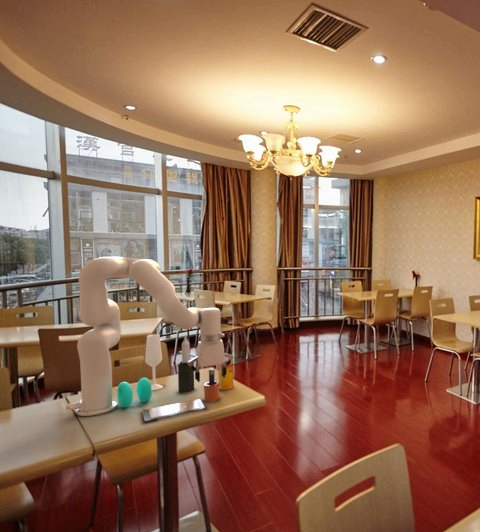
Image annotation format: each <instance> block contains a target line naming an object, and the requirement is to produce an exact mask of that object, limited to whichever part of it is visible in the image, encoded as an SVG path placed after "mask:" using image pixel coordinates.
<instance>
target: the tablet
mask: <svg viewBox="0 0 480 532" xmlns="http://www.w3.org/2000/svg"><path fill="white" fill-rule="evenodd" d="M203 410H206V406H205V405H204V403H203V401H202V399H201V398H196V399H193V400H192V399H191V400H187V401H183V402H177V403H172V404H167V405H163V406H156V407H151V408H147V409H142V416H143V417H142V418H143V421H144V424H147V423H153V422H157V421H158V420H160V419H166V418H171V417H175V416H179V415H184V414H188V413H195V412H199V411H203Z"/></svg>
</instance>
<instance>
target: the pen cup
mask: <svg viewBox="0 0 480 532" xmlns="http://www.w3.org/2000/svg"><path fill="white" fill-rule="evenodd" d="M214 382H215V384H214V385H209V381H207V382H205V383H204V384H203V400H204V402H214V401H217V400H219V398H220V389H219V382H218V380H217V381H216V380H214Z"/></svg>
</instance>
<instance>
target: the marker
mask: <svg viewBox="0 0 480 532" xmlns="http://www.w3.org/2000/svg"><path fill="white" fill-rule="evenodd" d="M214 381H215V368H209V369H208V382H209V385H214V384H215V382H214Z"/></svg>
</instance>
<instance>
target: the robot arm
mask: <svg viewBox="0 0 480 532" xmlns="http://www.w3.org/2000/svg"><path fill="white" fill-rule="evenodd" d="M161 269H162V268H161V266H160V265H159V263H158V262H156V261H155V260H153V259H147V258H135V257H126V256H125V257H124V256H102V257H98V258H94V259H92V260H89V261H88V262H87V263H85V264H84V265H83V266H82V267H81V269H80V270H79V274H78V289H79V316H80V320H81V322H82V324H84V325H85V326H88V327H93V329H89V330H88V331H86V332H85V333H83V334H82V335H80V337H79V339H78V340H77V345H76V347H77V353H78V358H79V365H80V394H81V395H80V396H81V398H80V400H79V401H77V402H74V403H73V402H72V403H67V404H66V405H65V407H66V408H65V409H66V410H69V411H74V410H76V415H77V416H80V417H92V416H98V415H103V414H105V413H108V412H111V411H114V410H115V409H116V408H117V407H118V402H117V401H114V400H113V367H112V366H113V364H112V356H111V354H110V353H111V352H110V349H112V348H113V347H114V346H116V345H117V344H118V343H119V342H120V340H121V335H122V334H121V309H120V307H119V305H118V304H117V303H116V301H114V300H113V299H109V297H108V294H109V293H108V287H107V284H106V281H107V280H108V279H117V278H121V279H133V280H134V281H135V282H136V283H137V284H138V285H139V286H140V287H141V288H142V289H143V290H144V291H145V292H146V293H147V294H148V295H149V296H150V297H151V298H152V299H153V300H154V301H155V303H156V305H157V306H158V308H159V309H160V311H161V312H162V313H163V315H164V316H165V317H166V318H167V319H168V320H170V321H171V323H173V324H174V325H175V326H176V327H178V329H182V330H190V329H192V328H194V327H195V326H198V325H200V341H198V343H197V346H196V347H197V349H196V356H194V357H193V358H192V359H190V361H188V362H187V363H188V365H189V367H190V368H191V369H192V370H193V371H194V381H197V383H200V382H201V371H200V370H201V369H202V368H205V367H212V366H213V367H214V366H218V365H219V364H222V365H223V367H222V376H223V377H225V375H226V374H227V367H228V365H229V364H230V363H231V361H232V359H233V360H234V356H233V355H232V354H231V355H229V353H226V352H225V347H224V341H223V339H222V338H225V334H224V333H222V331H221V329H222V328H221V326H222V325H221V320H222V319H221V317H222V316H221V309H219V308H217V307H206V308H201V307H188V308H187V306H186V305H185V304H184V303H182V302H181V300H180V298H179V297H178V296H177V293H176V288H175V285H174V284H173V283H172V282H171V281H170V280H169V279H168V278H167V277H166V276H165V275H164V274H163V273H162V272H161V271H162V270H161ZM225 357H228V358H229V359H228V360H227V362H226V363H224V361H225ZM195 362H196V364H197V365H196V366H195V365H194V366H193V365H192V363H194V364H195Z"/></svg>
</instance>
